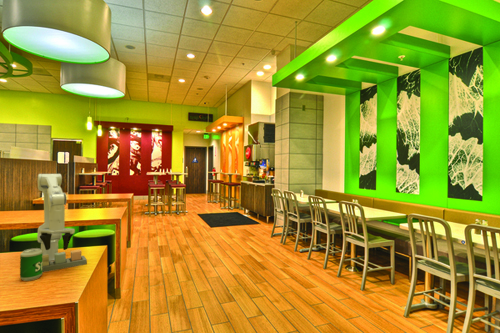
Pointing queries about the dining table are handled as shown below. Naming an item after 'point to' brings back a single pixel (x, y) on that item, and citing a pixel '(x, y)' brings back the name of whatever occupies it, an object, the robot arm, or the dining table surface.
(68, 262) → the button board
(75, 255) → the orange brown cube
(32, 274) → the soda can
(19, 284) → the dining table surface
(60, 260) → the pale green cube
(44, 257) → the maple key
